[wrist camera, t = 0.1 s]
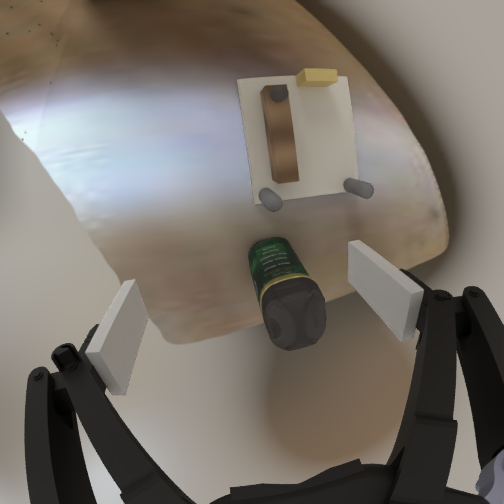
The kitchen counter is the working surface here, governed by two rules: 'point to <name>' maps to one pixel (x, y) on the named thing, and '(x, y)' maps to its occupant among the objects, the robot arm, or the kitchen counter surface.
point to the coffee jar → (286, 295)
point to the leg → (279, 133)
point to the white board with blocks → (305, 137)
